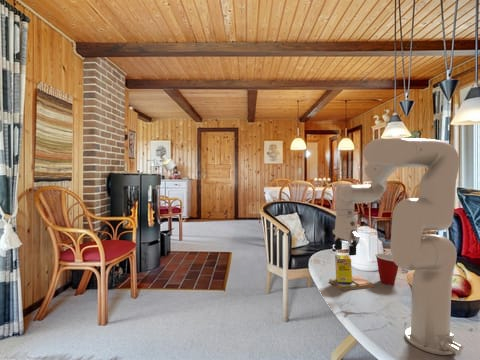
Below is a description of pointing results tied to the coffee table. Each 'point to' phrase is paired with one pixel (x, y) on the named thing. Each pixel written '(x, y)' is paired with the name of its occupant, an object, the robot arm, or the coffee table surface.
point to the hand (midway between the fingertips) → (345, 252)
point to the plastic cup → (386, 268)
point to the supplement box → (343, 269)
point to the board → (353, 284)
